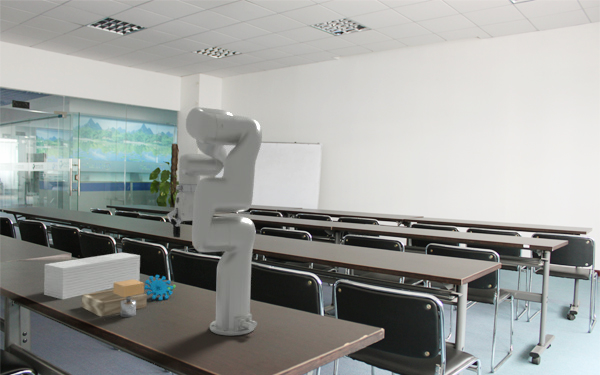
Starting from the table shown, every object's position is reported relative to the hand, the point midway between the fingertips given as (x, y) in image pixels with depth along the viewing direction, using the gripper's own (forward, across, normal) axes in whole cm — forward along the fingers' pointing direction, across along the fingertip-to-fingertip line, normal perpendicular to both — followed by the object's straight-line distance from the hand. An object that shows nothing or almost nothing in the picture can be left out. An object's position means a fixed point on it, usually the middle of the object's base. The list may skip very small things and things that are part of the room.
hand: (188, 236), depth 164 cm
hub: (+14, -28, -11) cm, 33 cm away
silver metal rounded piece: (+20, -28, -11) cm, 36 cm away
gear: (+21, -11, 0) cm, 24 cm away
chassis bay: (+21, -27, 0) cm, 34 cm away
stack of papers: (+21, -21, +28) cm, 41 cm away
